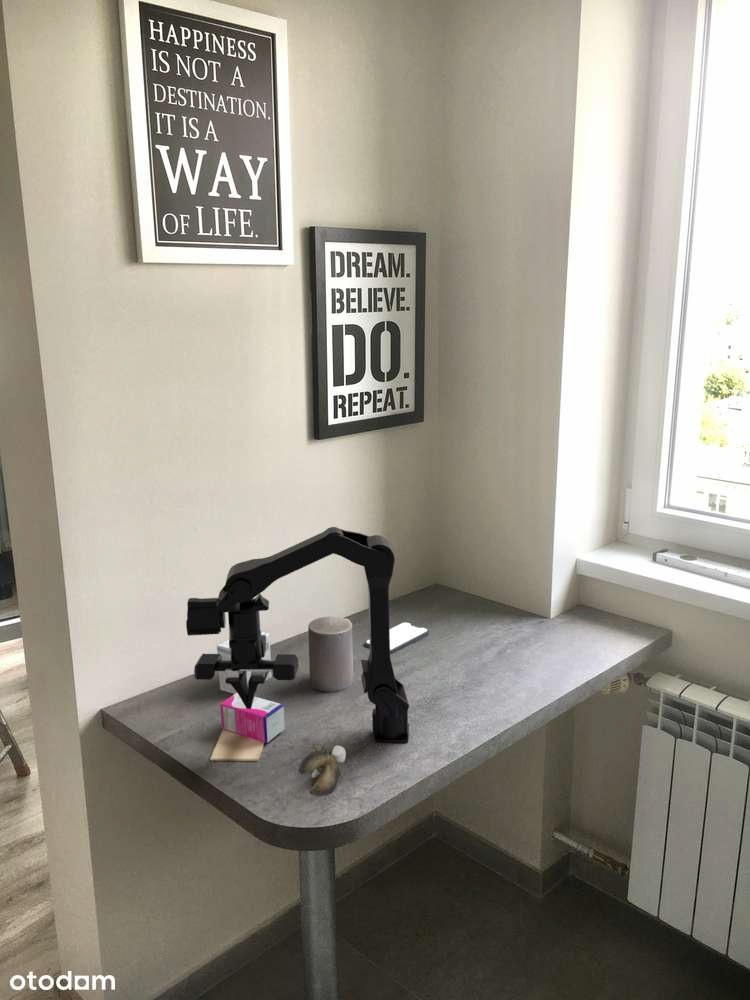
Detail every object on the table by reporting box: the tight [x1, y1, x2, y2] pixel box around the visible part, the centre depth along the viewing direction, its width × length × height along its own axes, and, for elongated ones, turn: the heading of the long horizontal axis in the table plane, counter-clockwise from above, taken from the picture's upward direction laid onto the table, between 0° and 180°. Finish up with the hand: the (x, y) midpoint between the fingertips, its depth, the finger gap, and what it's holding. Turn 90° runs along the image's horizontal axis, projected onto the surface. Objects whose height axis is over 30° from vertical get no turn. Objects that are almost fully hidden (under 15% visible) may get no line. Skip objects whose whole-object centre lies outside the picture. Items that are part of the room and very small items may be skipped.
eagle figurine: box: [297, 742, 347, 797], centre depth 148 cm, size 8×7×9 cm
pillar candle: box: [307, 615, 354, 693], centre depth 184 cm, size 10×10×15 cm
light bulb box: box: [216, 631, 273, 695], centre depth 184 cm, size 11×7×11 cm, turn 149°
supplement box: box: [219, 693, 286, 744], centre depth 164 cm, size 6×6×12 cm
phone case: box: [364, 621, 430, 655], centre depth 207 cm, size 9×2×16 cm
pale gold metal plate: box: [209, 729, 266, 762], centre depth 162 cm, size 9×14×1 cm, turn 177°
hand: (249, 707), depth 159 cm, fingers closed
